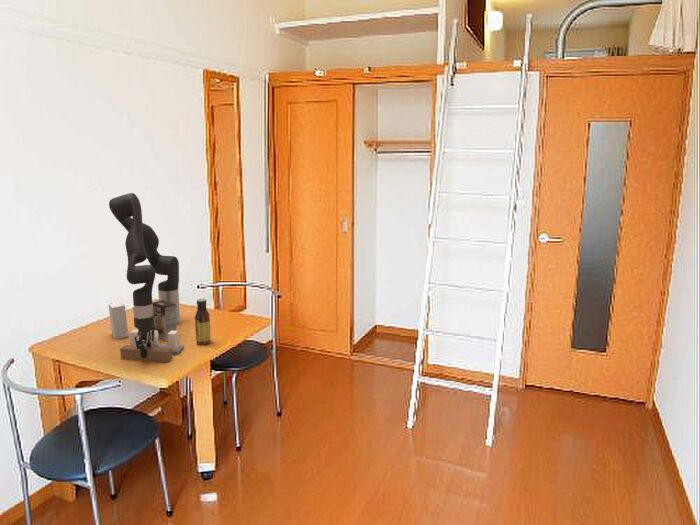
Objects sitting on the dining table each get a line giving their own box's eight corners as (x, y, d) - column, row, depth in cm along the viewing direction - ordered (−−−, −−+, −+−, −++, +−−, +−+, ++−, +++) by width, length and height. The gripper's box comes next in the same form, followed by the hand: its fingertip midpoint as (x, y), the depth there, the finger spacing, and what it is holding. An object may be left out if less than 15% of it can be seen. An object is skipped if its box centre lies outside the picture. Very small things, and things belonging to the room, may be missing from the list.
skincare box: (128, 337, 240) (126, 305, 237) (114, 339, 237) (111, 307, 234) (124, 331, 247) (122, 300, 244) (110, 334, 244) (108, 302, 241)
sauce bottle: (197, 340, 238) (195, 297, 234) (211, 340, 239) (210, 297, 235) (194, 345, 232) (192, 301, 228) (209, 345, 232) (207, 301, 228)
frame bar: (126, 355, 220) (125, 344, 219) (172, 358, 217) (171, 348, 217) (121, 359, 216) (120, 348, 215) (167, 362, 214) (167, 352, 213)
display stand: (133, 346, 229) (132, 327, 227) (183, 348, 228) (183, 329, 226) (125, 352, 222) (124, 333, 221) (178, 354, 221) (177, 335, 220)
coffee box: (152, 337, 241) (150, 302, 237) (164, 333, 246) (162, 299, 243) (165, 341, 236) (163, 306, 232) (177, 337, 241) (175, 303, 238)
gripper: (142, 309, 220) (144, 348, 224) (126, 320, 206) (129, 361, 210) (160, 309, 220) (162, 349, 223) (145, 320, 206) (148, 362, 209)
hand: (146, 355), depth 217 cm, fingers closed on frame bar, 4 cm apart
